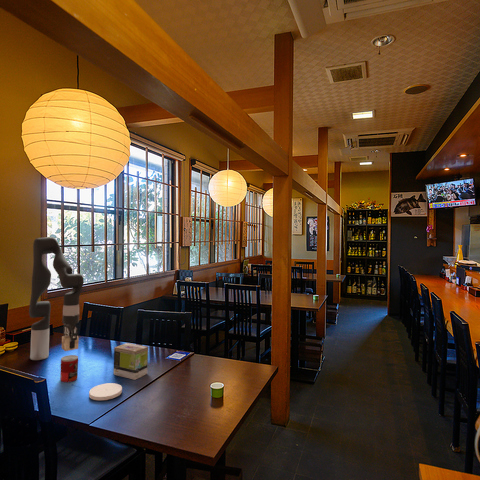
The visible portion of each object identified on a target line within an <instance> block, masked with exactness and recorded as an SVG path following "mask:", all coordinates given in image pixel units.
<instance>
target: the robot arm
mask: <svg viewBox="0 0 480 480" xmlns="http://www.w3.org/2000/svg"><path fill="white" fill-rule="evenodd" d="M32 244H33V245H32V248H33V249H32V250H33V252H32V253H33V255H32V258H33V259H32V260H33V264H32V265H33V267H32V273H31V275H32V276H31V293H30V299H29V308H28V315H29V317H30V318H32V319H36V318H42V319H40V320H39V321H36V322H34V323H32V324H31V326H30V327H31V330H30V331H31V332H30V333H31V334H30V355H29V359H30V360H32V361H40V360H45V359H47V358H49V351H50V349H49V348H50V320H51V308H52V307H51V304H52V303H51V302H50V301H49V300H44V301H43V300H42V301H41V300H40V301H39V298H40V297H41V296H42V295H43V294H44V293H45V291H46V290H48V288H49V287H50V285H51V281H52V280H51V279H52V273H51V270H50V269H49V268H48V266H47V265H46V264H45V263H44V261H43V255H48V254H54V259H53V261H52V267H53V269H54V270H55V272H56V274H57V276H58V278H59V284H60V286H61V287H62V288H64V289H67V290H68V289H71V291H69V292H67V293H65V294H63V307H62V324H63V336H67V335H68V337H69V338H70V349H73V348H75V340H77V336H78V333H79V332H78V331H79V329H78V328H77V326H76V324H78V323H79V322H80V296H81V291H82V289H83V286H84V282H85V280H84V277H83V275H82V274H81V273H73V272H74V269H73V268H72V266H71V264H70V263H69V261H67V259H66V257H65V255H64V253H63V251H62V248H61V246H60V243H59V242H58V240H57V238H55V237H53V236H46V237H38V238H35V239H34V240H33V243H32ZM73 337H74V338H73Z"/></svg>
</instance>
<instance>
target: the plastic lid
mask: <svg viewBox="0 0 480 480" xmlns="http://www.w3.org/2000/svg"><path fill="white" fill-rule="evenodd" d="M88 393H89V395H88V397H89V398H90V399H91V400H93V401H108V400H112V399H114V398H117V397H119V396H120V395H121V394H122V393H123V387H122V385H121V384H118V383H114V382H113V383H112V382H109V383H101V384H98V385H95V386H93V387H91V388H90V390H89V392H88Z"/></svg>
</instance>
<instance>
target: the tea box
mask: <svg viewBox="0 0 480 480" xmlns="http://www.w3.org/2000/svg"><path fill="white" fill-rule="evenodd" d="M148 354H149V346H146V345H141V344H135V343H131V342H125V343H123V344H121V345H118V346H114V349H113V375H114V376H118V377H122V378H127V379H131V380H133V381H136V380H137V379H140V378H142V377H144V376H145V375H148V361H149V360H148V357H149V355H148Z"/></svg>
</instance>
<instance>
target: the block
mask: <svg viewBox="0 0 480 480" xmlns="http://www.w3.org/2000/svg"><path fill="white" fill-rule="evenodd" d="M73 338H74V337H73ZM79 338H80V337H79V336H78V335H77V340H75V348H73V349H70V338H69V337H68V335H67V336H64V335H63V336H61V349H62V350H63V351H64V352H68V351H73V350H78V349H79V342H80V341H79V340H80V339H79Z"/></svg>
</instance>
